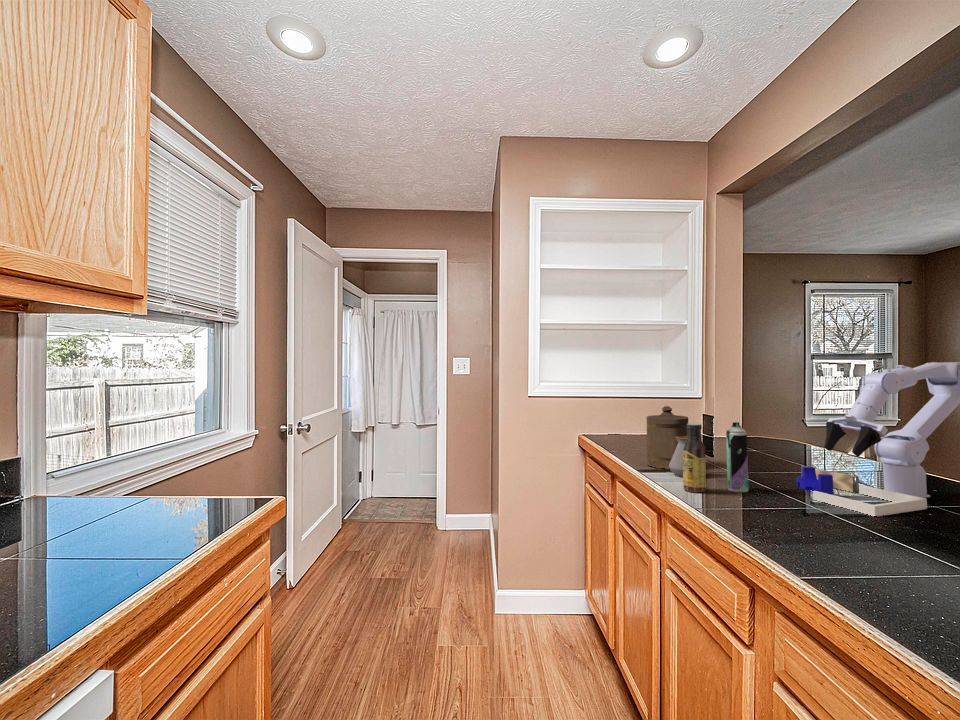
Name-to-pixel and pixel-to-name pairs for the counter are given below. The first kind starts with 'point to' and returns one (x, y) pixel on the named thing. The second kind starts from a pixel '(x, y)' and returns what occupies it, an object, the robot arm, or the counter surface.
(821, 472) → the board
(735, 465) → the spray can
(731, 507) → the counter surface
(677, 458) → the coffee pot
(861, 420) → the robot arm
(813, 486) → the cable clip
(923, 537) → the counter surface
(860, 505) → the cream square rimmed piece
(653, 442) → the wooden container
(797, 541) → the counter surface
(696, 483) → the sauce bottle
